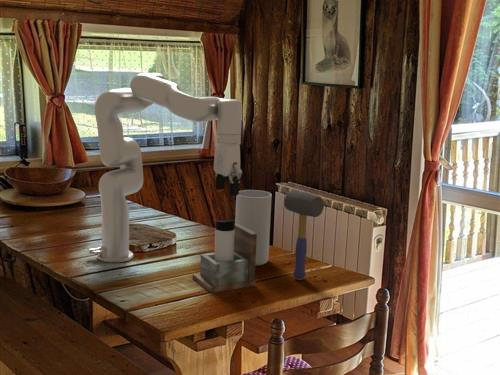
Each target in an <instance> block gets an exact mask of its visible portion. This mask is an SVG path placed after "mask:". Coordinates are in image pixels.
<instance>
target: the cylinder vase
mask: <svg viewBox="0 0 500 375" xmlns="http://www.w3.org/2000/svg"><path fill="white" fill-rule="evenodd" d="M235 198H236V200H235V219H234V220H235V224H240V225H242V226H244V227H246V228H247V229H249V230H251V231H253V232H255V233H257V242H256V263H255V267H256V266H262V265H265V264H266V263H268V261H269V257H270V256H269V254H270V252H269V251H270V235H271V234H270V232H271V231H270V230H271V213H272V198H273V197H272V193H271V192H269V191H265V190H256V189H244V190H239V195H236V197H235Z"/></svg>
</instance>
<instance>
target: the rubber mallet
mask: <svg viewBox="0 0 500 375" xmlns="http://www.w3.org/2000/svg"><path fill="white" fill-rule="evenodd" d="M283 204H284V208H285V209H286V210H287V211H290V212H292V213H295V214H299V215H298V228H297V229H298V230H297V237H296V242H295V253H294V254H295V266H294V270H293V276H294V279H295V280H297V281H302V280H304V279H305V277H306V257H307V251H308V249H307V247H308V246H307V244H308V243H307V235H306V234H307V218H308V217H312V218H317V217H319V216H320V215H321V214H322V213H323V211H324V207H325V202H324V199H323V198H322V197H321V196H319V195H316V194H313V193H309V192H305V191H300V190H290V191H288V192H287V193H286V194H285V196H284V201H283Z"/></svg>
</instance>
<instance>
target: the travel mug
mask: <svg viewBox="0 0 500 375" xmlns="http://www.w3.org/2000/svg"><path fill="white" fill-rule="evenodd" d="M234 226H235V219H230V218H226V219H221V220H220V219H216V220H215V228H214V230H215V231H214V232H215V233H214V253H215V258H214V261H216V262H217V263H218V262H226V261H234V234H235V227H234Z"/></svg>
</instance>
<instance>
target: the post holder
mask: <svg viewBox="0 0 500 375" xmlns="http://www.w3.org/2000/svg"><path fill="white" fill-rule="evenodd" d="M234 227H235V234H234V261H226V262H218V263H217V262H216V261H214V258H215V252H211V253H203V254H202V253H201V254H200V263H199V264H200V267H199V268H200V270H199V271H200V272H198V273H192V280H194V281H195V282H197V283H198V284H199V285H200V286H201V287H203V288H204V289H205V288H206V289H205V290H206V291H208V292H210V294H211V293H217V292H224V291H230V290H237V289H242V288H243V287H244V288H249V287H250V286H251V287H256V266H255V263H256V242H257V233H255V232H253V231H251V230H249V229H247V228H246V227H244V226H242V225H240V224H235V226H234ZM244 288H243V289H244Z"/></svg>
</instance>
